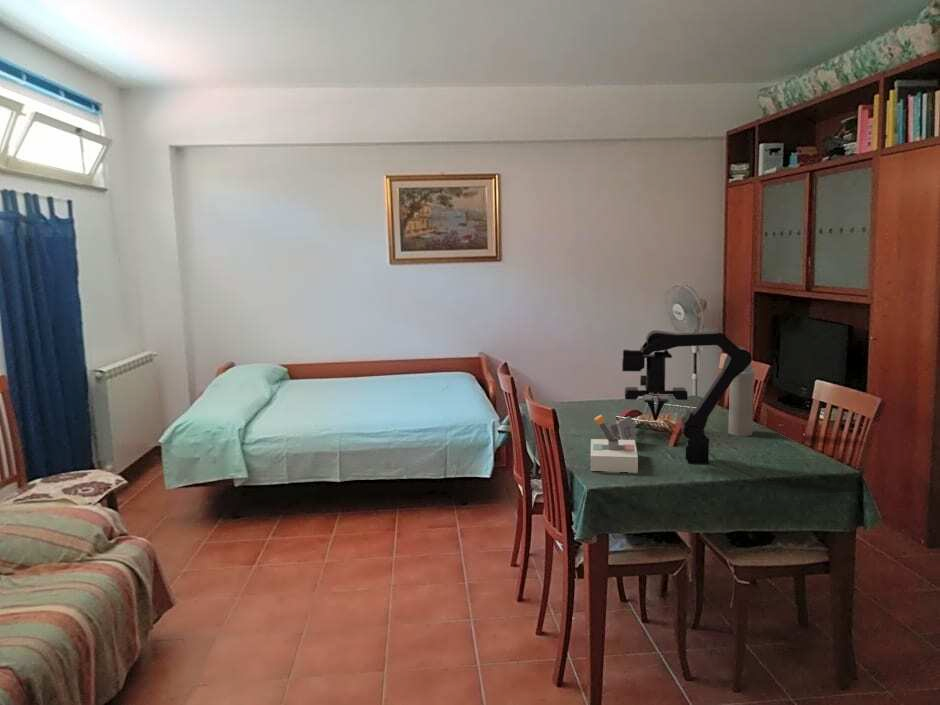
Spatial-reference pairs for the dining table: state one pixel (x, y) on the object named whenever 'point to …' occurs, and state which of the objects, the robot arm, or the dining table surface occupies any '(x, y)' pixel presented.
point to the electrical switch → (624, 429)
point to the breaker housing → (614, 455)
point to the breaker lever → (604, 428)
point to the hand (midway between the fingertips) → (655, 420)
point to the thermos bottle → (741, 403)
